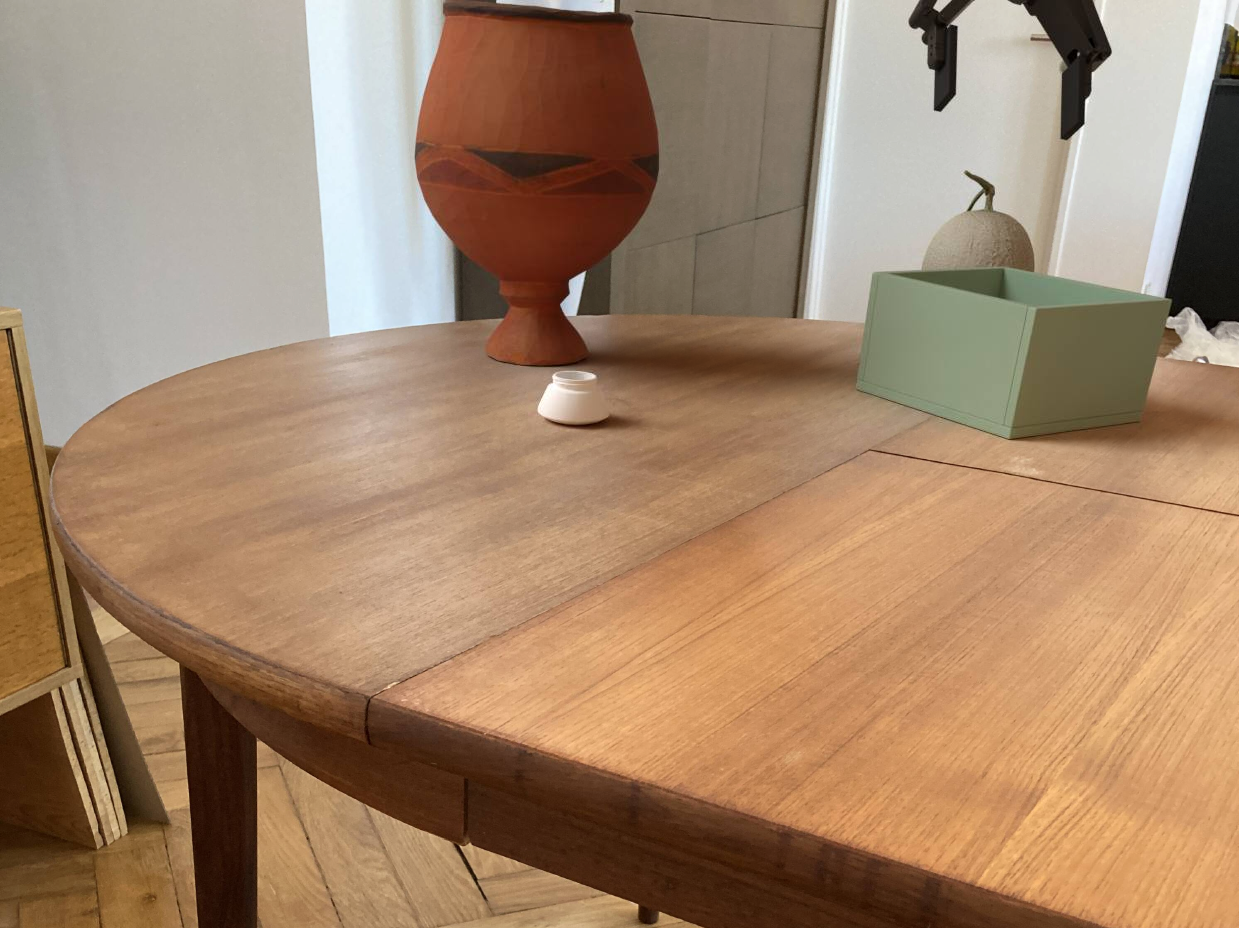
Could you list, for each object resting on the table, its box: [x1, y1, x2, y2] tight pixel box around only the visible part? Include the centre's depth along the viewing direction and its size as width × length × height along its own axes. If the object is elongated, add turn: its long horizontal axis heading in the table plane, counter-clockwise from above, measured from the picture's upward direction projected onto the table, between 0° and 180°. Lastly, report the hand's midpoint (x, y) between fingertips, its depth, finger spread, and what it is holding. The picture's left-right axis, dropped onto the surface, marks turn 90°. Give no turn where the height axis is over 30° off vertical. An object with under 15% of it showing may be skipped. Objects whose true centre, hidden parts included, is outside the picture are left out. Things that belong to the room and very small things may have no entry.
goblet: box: [414, 0, 660, 367], centre depth 100 cm, size 19×19×25 cm
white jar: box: [537, 370, 610, 426], centre depth 88 cm, size 5×3×5 cm
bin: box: [855, 266, 1173, 440], centre depth 97 cm, size 17×15×9 cm
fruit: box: [921, 170, 1036, 272], centre depth 120 cm, size 10×12×15 cm
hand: (1009, 117), depth 117 cm, fingers open, 13 cm apart
